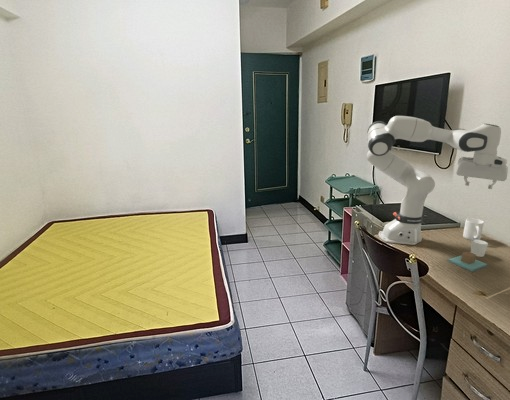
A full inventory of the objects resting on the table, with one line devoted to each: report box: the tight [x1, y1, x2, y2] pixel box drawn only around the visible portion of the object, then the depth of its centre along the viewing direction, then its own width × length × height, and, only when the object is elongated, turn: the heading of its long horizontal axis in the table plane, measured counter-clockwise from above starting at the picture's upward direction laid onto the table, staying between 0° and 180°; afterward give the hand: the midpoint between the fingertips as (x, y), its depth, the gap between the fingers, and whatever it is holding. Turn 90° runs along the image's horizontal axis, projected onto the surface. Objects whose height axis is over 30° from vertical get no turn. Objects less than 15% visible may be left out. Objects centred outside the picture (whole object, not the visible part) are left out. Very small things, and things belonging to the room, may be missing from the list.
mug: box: [462, 217, 485, 241], centre depth 178 cm, size 12×8×10 cm
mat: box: [445, 258, 490, 274], centre depth 153 cm, size 13×13×1 cm
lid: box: [448, 251, 488, 272], centre depth 153 cm, size 11×11×5 cm
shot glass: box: [470, 239, 489, 258], centre depth 161 cm, size 7×7×7 cm
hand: (478, 187), depth 158 cm, fingers open, 8 cm apart
